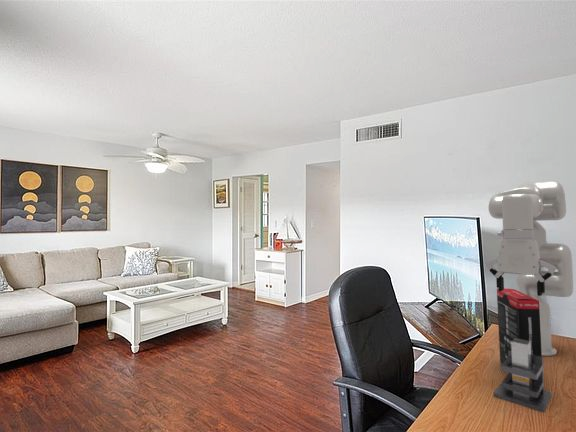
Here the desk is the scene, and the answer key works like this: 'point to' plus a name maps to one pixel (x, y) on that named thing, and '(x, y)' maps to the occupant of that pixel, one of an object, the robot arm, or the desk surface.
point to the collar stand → (537, 393)
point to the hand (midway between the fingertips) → (520, 292)
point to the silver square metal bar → (521, 362)
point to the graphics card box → (518, 321)
